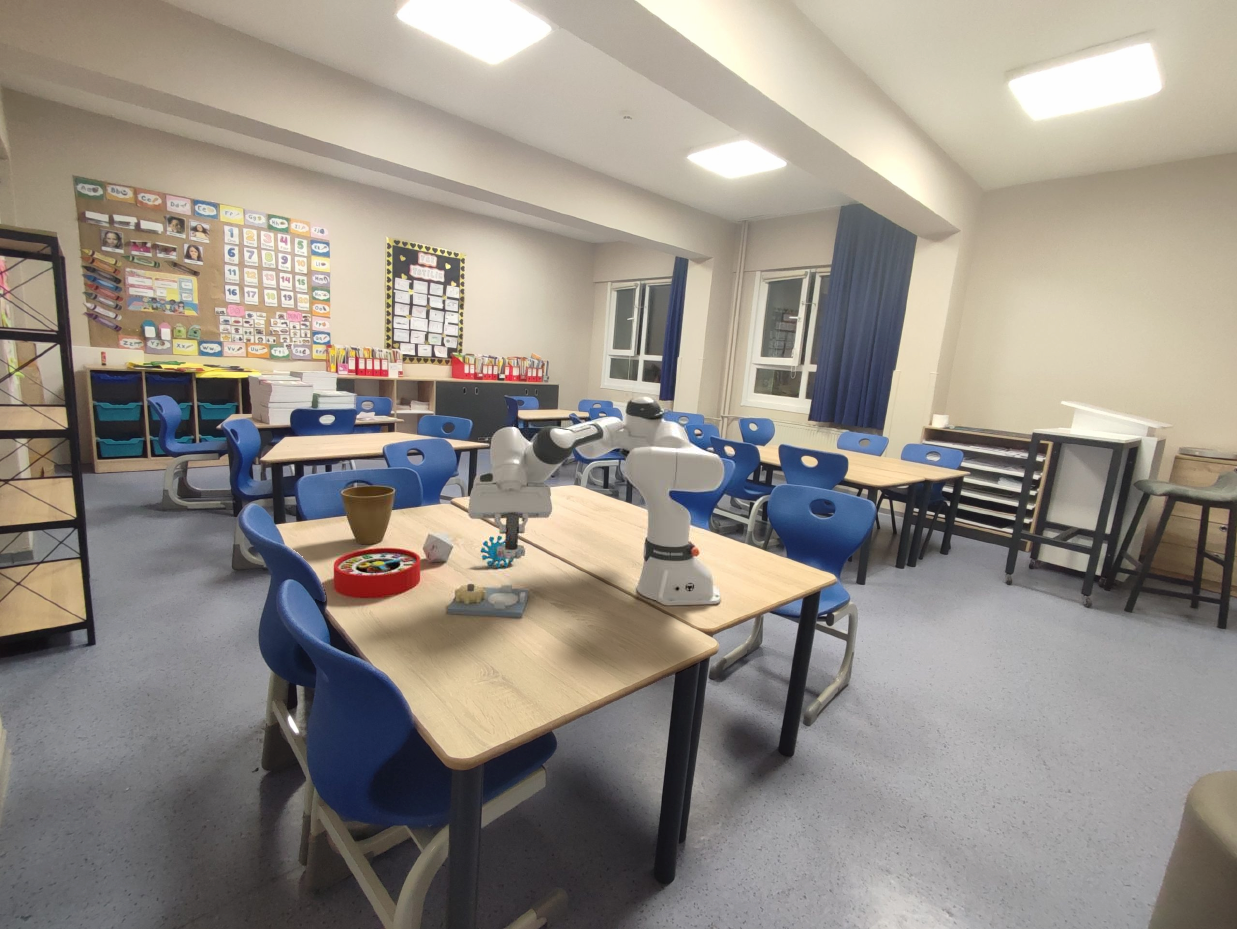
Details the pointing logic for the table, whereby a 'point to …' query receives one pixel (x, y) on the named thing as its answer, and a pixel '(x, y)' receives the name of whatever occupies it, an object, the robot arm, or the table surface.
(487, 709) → the table surface
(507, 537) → the gear
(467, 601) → the gear board
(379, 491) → the plant pot
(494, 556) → the virus model
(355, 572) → the toy clock
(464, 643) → the table surface
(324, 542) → the table surface
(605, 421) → the robot arm
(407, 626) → the table surface
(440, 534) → the die
